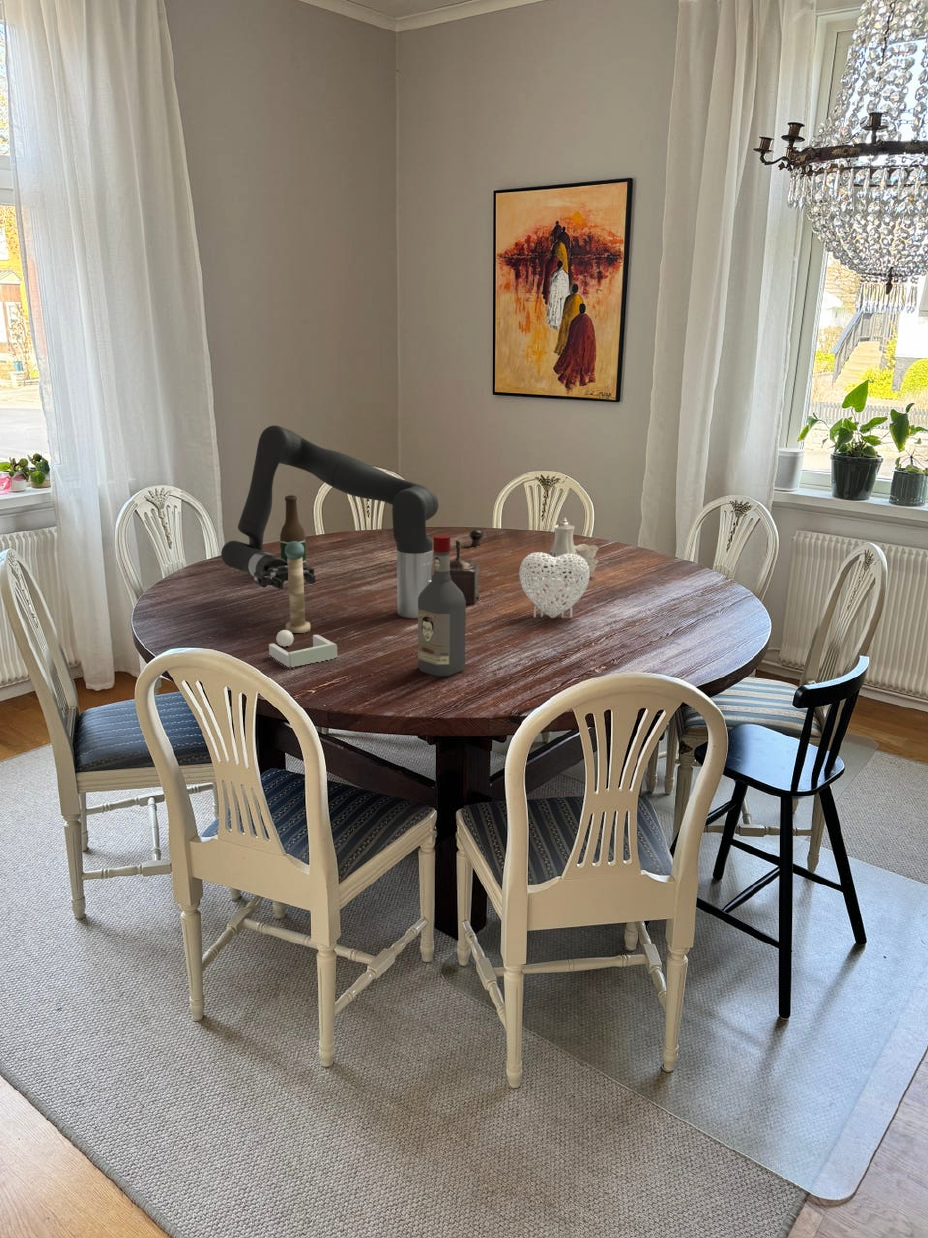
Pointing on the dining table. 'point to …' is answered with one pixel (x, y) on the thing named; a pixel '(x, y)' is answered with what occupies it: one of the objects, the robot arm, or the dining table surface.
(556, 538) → the chinaware
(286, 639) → the ball
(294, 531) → the beer bottle
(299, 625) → the post
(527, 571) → the decorative heart
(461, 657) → the liquor
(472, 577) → the manual coffee grinder
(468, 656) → the dining table surface
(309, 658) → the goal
